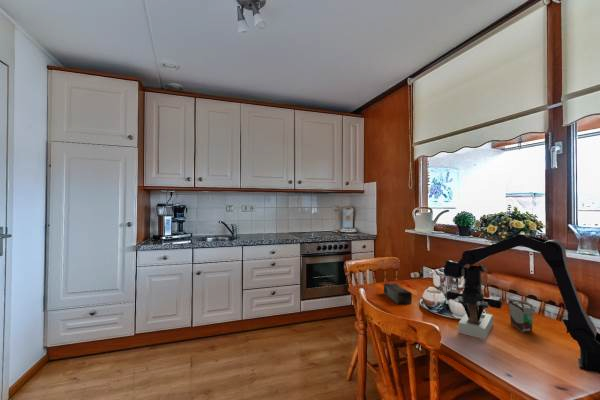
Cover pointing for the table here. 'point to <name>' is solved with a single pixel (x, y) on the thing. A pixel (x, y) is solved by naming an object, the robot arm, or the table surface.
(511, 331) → the table surface
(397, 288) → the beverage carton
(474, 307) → the walnut peg
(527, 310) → the food container
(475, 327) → the hole block
